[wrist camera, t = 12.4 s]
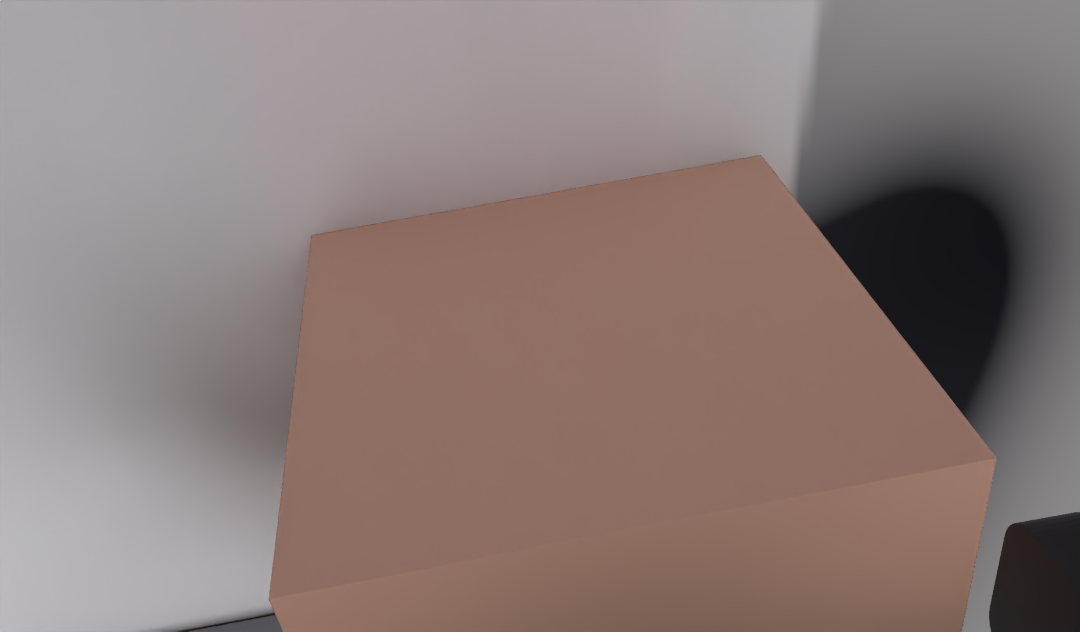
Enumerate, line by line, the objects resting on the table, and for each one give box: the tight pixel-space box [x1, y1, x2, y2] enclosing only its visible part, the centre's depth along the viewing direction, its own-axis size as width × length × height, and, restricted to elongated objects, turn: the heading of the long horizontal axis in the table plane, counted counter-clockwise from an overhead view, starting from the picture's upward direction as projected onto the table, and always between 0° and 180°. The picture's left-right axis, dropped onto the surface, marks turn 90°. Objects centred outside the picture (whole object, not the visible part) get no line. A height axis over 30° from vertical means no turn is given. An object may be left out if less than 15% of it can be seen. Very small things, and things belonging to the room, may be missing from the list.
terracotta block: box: [269, 155, 997, 632], centre depth 12 cm, size 6×6×6 cm
